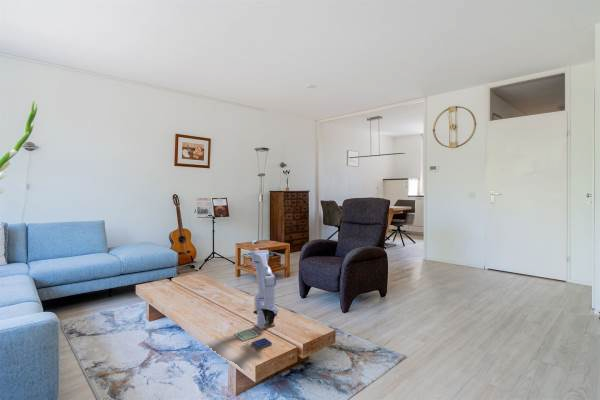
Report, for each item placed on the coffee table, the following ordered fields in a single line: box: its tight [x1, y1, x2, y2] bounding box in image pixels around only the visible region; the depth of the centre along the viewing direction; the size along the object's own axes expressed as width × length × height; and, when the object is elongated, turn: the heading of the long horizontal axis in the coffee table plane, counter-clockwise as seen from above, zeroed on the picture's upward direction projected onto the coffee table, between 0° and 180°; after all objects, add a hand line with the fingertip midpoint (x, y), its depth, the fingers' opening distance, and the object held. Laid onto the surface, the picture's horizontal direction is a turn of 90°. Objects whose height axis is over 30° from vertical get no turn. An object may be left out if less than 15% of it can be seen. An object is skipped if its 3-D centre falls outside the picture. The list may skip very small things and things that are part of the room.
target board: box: [233, 328, 260, 342], centre depth 178 cm, size 10×10×1 cm
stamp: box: [264, 315, 276, 329], centre depth 176 cm, size 5×4×6 cm
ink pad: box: [250, 337, 273, 350], centre depth 167 cm, size 8×7×1 cm
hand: (269, 322), depth 176 cm, fingers closed on stamp, 3 cm apart
